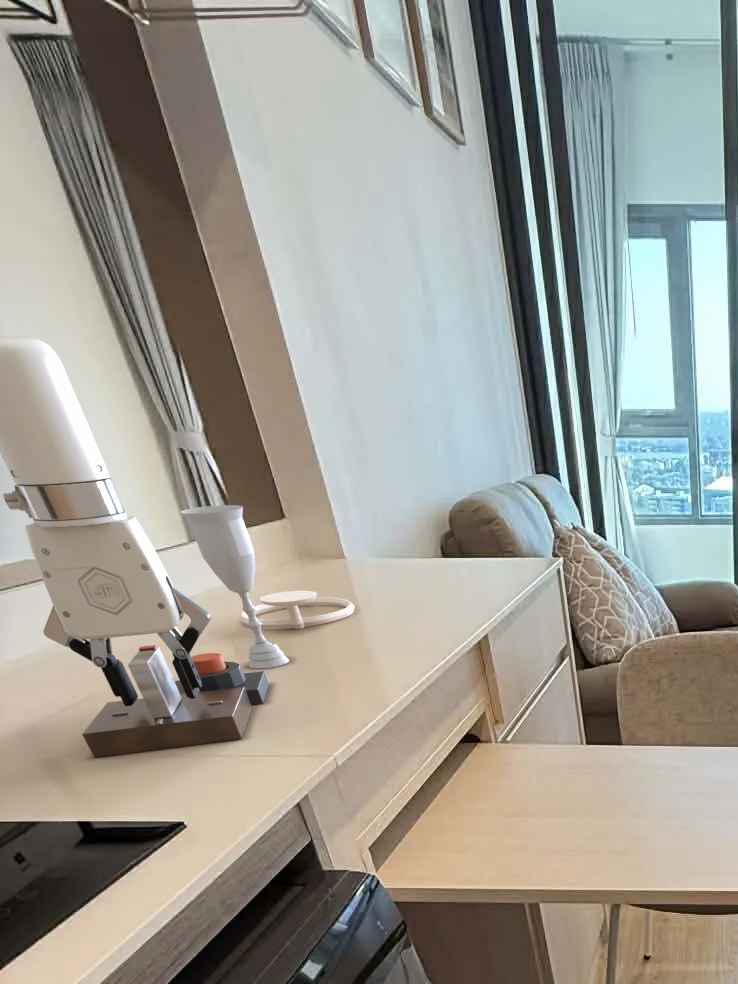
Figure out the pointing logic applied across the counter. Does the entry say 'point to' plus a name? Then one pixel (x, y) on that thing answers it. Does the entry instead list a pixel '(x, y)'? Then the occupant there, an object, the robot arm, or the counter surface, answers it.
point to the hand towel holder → (292, 602)
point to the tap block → (169, 723)
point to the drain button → (208, 663)
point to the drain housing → (234, 682)
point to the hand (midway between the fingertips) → (162, 696)
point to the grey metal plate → (155, 681)
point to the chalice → (233, 567)
